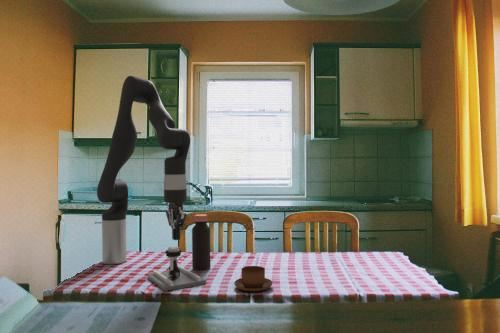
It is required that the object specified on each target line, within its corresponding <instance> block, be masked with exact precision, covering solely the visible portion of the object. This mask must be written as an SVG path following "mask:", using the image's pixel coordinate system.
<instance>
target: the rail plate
mask: <svg viewBox="0 0 500 333" xmlns="http://www.w3.org/2000/svg"><path fill="white" fill-rule="evenodd" d="M177 266H178V265H177ZM178 268H180V276H179V277H178V278H175V279H174V280H170V279H168V271H163V272H159V271H157V270H156V269H154V270H152V271H153V273H150V274H147V279H148V278H149V279H148V280H150V281H151V282H152V283H153V282H154V284H155V285H156V284H157V285H158V286H157V285H156V286H157V287H158V288H160V287H161V288H162V289H161V288H160V289H161V290H163V291H164V292H168V290H170V291H175V290H180V289H185V288H191V287H195V286H201V285H206V284H207V280H206V279H205V278H203V277H202V276H200V275H198V274H196V273H194V272H193V271H191V270H189V269H187V268H185V267H183V266H182V265H179V266H178ZM174 289H175V290H174Z"/></svg>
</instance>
